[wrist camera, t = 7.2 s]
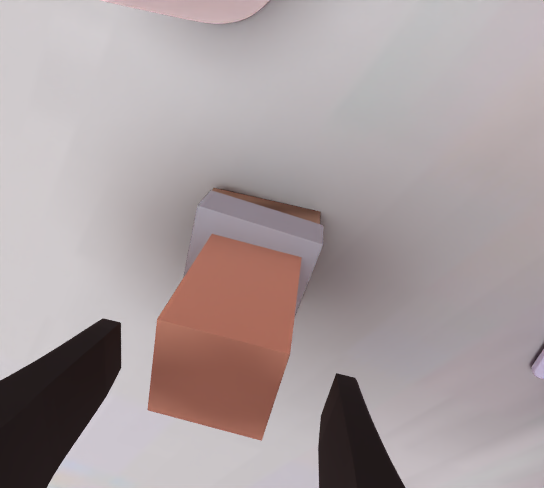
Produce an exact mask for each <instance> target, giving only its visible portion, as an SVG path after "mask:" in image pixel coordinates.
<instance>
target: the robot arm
mask: <svg viewBox="0 0 544 488" xmlns="http://www.w3.org/2000/svg"><path fill="white" fill-rule="evenodd" d="M120 369H121V323H120V322H116V321H112V320H107V319H101V320H100V321H98V322H96V323H95V324H93V325H92V326H90V327H89V328H87V329H86V330H84V331H82V332H81V333H79V334H78V335H76V336H75V337H73V338H72V339H70V340H68V341H67V342H65V343H64V344H62V345H61V346H59V347H57V348H56V349H54V350H53V351H51V352H49V353H48V354H46V355H44V356H43V357H41V358H40V359H38V360H36V361H35V362H33V363H31V364H29V365H28V366H26V367H24V368H22V369H20V370H19V371H17V372H15V373H13V374H12V375H10V376H8V377H6V378H4V379H2V380H1V381H0V488H47V486H48V484H49V482H50V481H51V479H52V477H53V475H54V474H55V472H56V470H57V469H58V467H59V466H60V464H61V463H62V461H63V459H64V458H65V457H66V455H67V454H68V452H69V451H70V449H71V448H72V446H73V445H74V443H75V442H76V440H77V439H78V437H79V436H80V435H81V433H82V432H83V430H84V429H85V427H86V426H87V424H88V423H89V421H90V420H91V418H92V417H93V415H94V414H95V413H96V411H97V410H98V408H99V407H100V405H101V404H102V402H103V401H104V399H105V398H106V396H107V394H108V392H109V390H110V388H111V387H112V385H113V383H114V381H115V379H116V377H117V375H118V373H119V371H120ZM531 369H532V372H533V373H534V375H535V376H536V377H538V378H541V379H544V349H543V351H542V352H541V354H540V355H539V357H538V358H537V360H536V361H535V362H534V364H533V365H532V368H531ZM318 454H319V488H405V486H404V484H403V482H402V481H401V479H400V477H399V475H398V473H397V471H396V469H395V467H394V466H393V464H392V462H391V460H390V458H389V456H388V454H387V452H386V450H385V448H384V445H383V443H382V441H381V439H380V437H379V434H378V432H377V430H376V428H375V426H374V423H373V421H372V419H371V416H370V414H369V411H368V409H367V406H366V404H365V401H364V399H363V396H362V393H361V391H360V388H359V385H358V382H357V380H356V379H355V378H354V377H349V376H345V375H341V374H337V373H336V375H335V378H334V381H333V384H332V387H331V389H330V392H329V395H328V398H327V401H326V403H325V406H324V409H323V412H322V415H321V422H320V433H319V447H318Z"/></svg>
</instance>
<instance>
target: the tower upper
mask: <svg viewBox="0 0 544 488" xmlns="http://www.w3.org/2000/svg"><path fill="white" fill-rule="evenodd" d="M323 233H324V225H321V224H317V223H314V222H311V221H308V220H305V219H302V218H298V217H295V216H292V215H289V214H286V213H282V212H279V211H276V210H273V209H270V208H266V207H263V206H260V205H257V204H254V203H250V202H247V201H244V200H241V199H238V198H234V197H231V196H228V195H225V194H222V193H218V192H215V191H212V190H210V192H209V193H208V194H207V195H206V196H205V197H204V199H203V200H202V201H201V202H200V203H199V204H198V206H197V211H196V216H195V221H194V226H193V231H192V236H191V241H190V246H189V251H188V256H187V262H186V267H185V272H184V277H185V275H186V273H187V272H188V270H189V269H190V267H191V266H192V264H193V262H194V261H195V259H196V258H197V256H198V255H199V253H200V251H201V250H202V248H203V247H204V245H205V244H206V242H207V241H208V239H209V237H210V236H211V234H215V235H219V236H223V237H226V238H230V239H234V240H238V241H242V242H245V243H249V244H253V245H257V246H261V247H264V248H268V249H272V250H276V251H280V252H283V253H287V254H291V255H295V256H299V257H302V259H301V267H300V275H299V284H298V292H297V300H296V308H295V316H296V313H297V310H298V308H299V305H300V303H301V300H302V298H303V295H304V292H305V290H306V287H307V285H308V282H309V280H310V277H311V274H312V272H313V269H314V267H315V264H316V262H317V259H318V256H319V254H320V251H321V249H322V246H323ZM184 277H183V278H184ZM294 318H295V317H294Z"/></svg>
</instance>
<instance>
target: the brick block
mask: <svg viewBox="0 0 544 488" xmlns="http://www.w3.org/2000/svg"><path fill="white" fill-rule="evenodd" d="M301 259H302V257H299V256H295V255H291V254H287V253H283V252H280V251H276V250H272V249H268V248H264V247H261V246H257V245H253V244H249V243H245V242H242V241H238V240H234V239H230V238H226V237H223V236H219V235H215V234H211V236H210V237H209V239H208V241H207V242H206V244H205V245H204V247H203V248H202V250H201V251H200V253H199V255H198V256H197V258H196V259H195V261H194V262H193V264H192V266H191V267H190V269H189V270H188V272H187V273H186V275H185V277H184V278H183V280H182V281H181V283H180V284H179V286H178V287H177V289H176V291H175V292H174V294H173V295H172V297H171V298H170V300H169V302H168V303H167V305H166V306H165V308H164V309H163V311H162V312H161V314H160V316H159V317H158V319H157V326H156V336H155V345H154V355H153V364H152V374H151V383H150V392H149V402H148V410H149V411H153V412H157V413H160V414H164V415H168V416H172V417H175V418H179V419H183V420H187V421H190V422H194V423H198V424H202V425H205V426H209V427H213V428H217V429H220V430H224V431H228V432H231V433H235V434H239V435H243V436H246V437H250V438H254V439H258V440H261V441H262V438H263V435H264V432H265V429H266V426H267V422H268V419H269V416H270V413H271V410H272V407H273V404H274V401H275V398H276V395H277V392H278V389H279V386H280V383H281V380H282V377H283V374H284V371H285V368H286V365H287V362H288V359H289V356H290V350H291V341H292V333H293V325H294V317H295V308H296V300H297V292H298V284H299V275H300V267H301Z"/></svg>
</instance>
